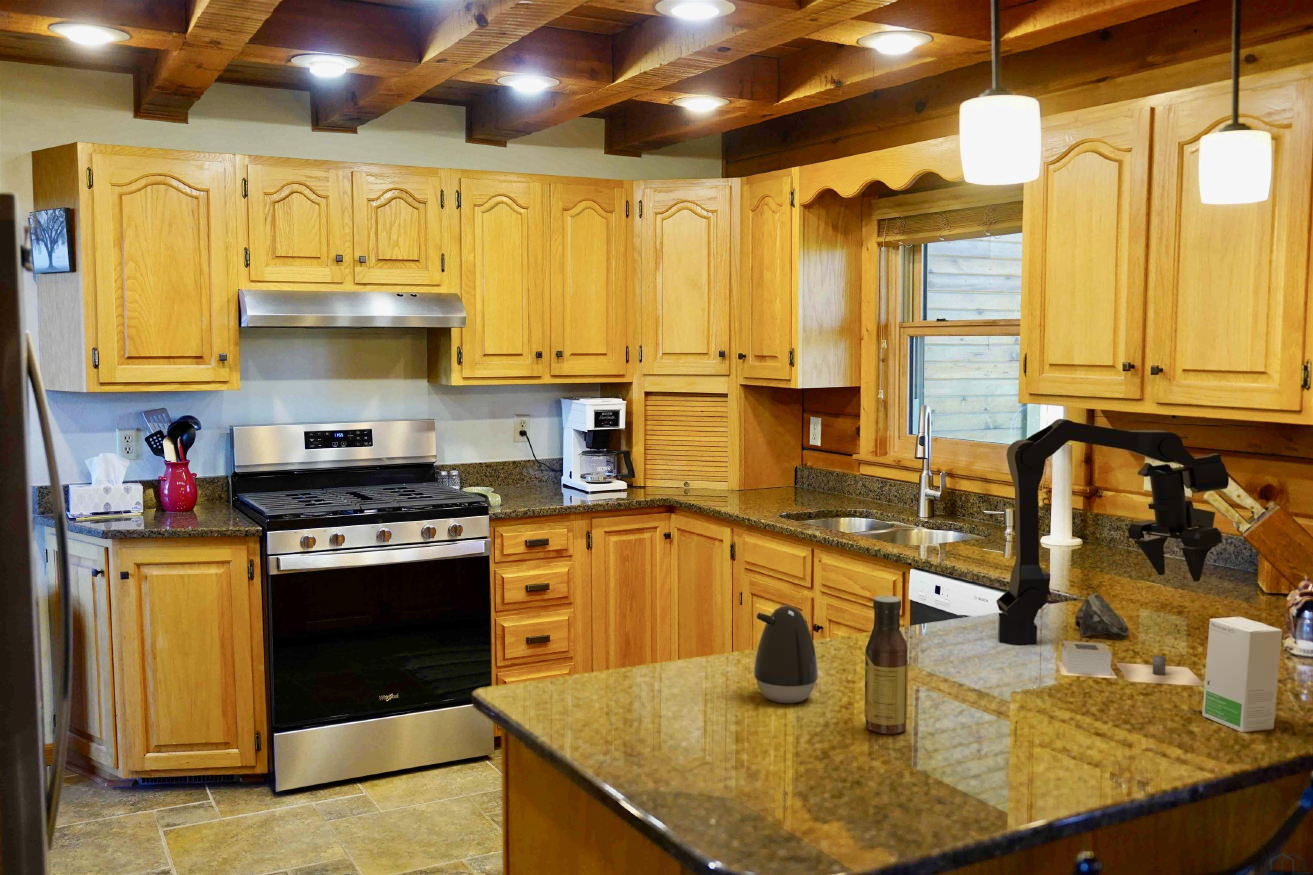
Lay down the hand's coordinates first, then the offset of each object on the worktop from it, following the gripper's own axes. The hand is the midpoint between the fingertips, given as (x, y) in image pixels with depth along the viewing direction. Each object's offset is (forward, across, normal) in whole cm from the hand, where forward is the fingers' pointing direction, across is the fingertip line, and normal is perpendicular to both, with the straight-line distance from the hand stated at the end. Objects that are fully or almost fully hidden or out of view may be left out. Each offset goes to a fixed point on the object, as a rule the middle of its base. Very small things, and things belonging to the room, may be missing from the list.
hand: (1179, 578), depth 220 cm
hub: (+12, -15, +19) cm, 27 cm away
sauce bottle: (+4, -26, +77) cm, 82 cm away
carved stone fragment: (+13, +16, +7) cm, 21 cm away
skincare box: (+13, -38, +24) cm, 47 cm away
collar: (+9, -9, +30) cm, 32 cm away
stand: (+10, -9, +30) cm, 33 cm away
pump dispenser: (+2, -8, +86) cm, 86 cm away
